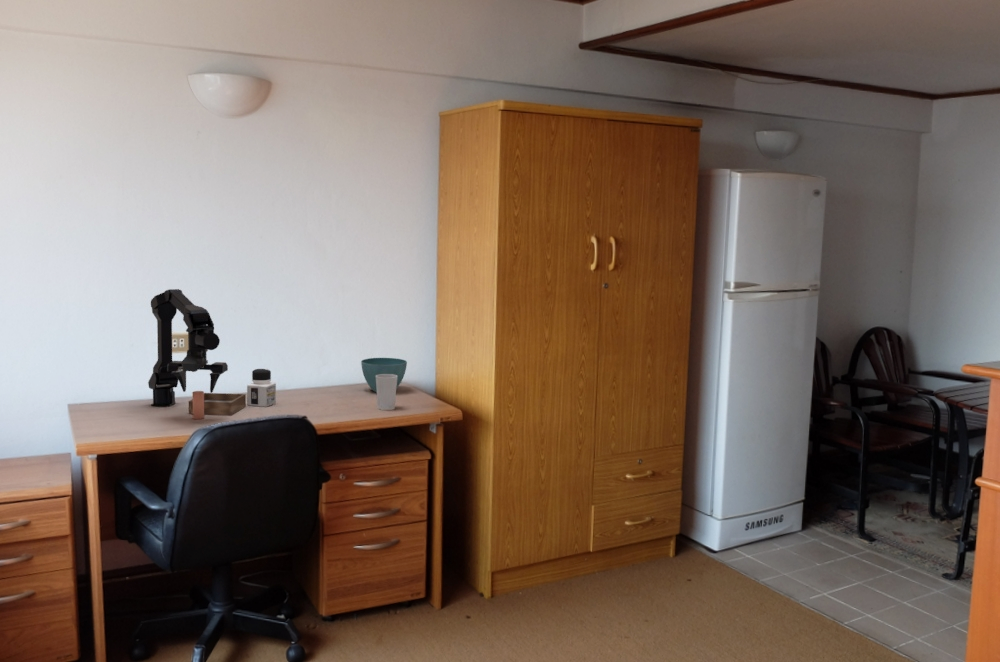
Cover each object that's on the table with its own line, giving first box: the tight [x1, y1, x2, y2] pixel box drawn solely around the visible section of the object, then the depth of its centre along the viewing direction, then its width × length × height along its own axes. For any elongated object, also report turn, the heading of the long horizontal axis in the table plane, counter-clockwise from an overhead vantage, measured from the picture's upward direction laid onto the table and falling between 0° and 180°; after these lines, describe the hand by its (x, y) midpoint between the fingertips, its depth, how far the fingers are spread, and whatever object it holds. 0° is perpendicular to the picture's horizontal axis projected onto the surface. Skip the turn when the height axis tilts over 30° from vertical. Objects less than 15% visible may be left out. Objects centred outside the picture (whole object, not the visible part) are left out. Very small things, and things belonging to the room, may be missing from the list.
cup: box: [376, 374, 398, 411], centre depth 314 cm, size 8×8×12 cm
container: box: [246, 368, 277, 408], centre depth 315 cm, size 8×8×13 cm
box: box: [188, 392, 247, 416], centre depth 304 cm, size 15×15×4 cm
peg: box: [192, 390, 205, 420], centre depth 291 cm, size 4×4×9 cm
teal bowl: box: [360, 357, 408, 393], centre depth 346 cm, size 18×18×12 cm
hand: (198, 392), depth 290 cm, fingers open, 9 cm apart
